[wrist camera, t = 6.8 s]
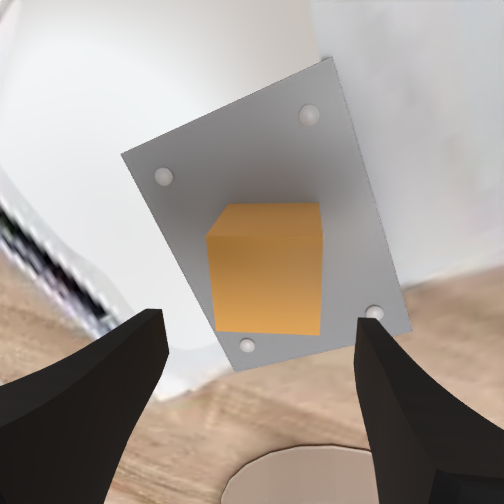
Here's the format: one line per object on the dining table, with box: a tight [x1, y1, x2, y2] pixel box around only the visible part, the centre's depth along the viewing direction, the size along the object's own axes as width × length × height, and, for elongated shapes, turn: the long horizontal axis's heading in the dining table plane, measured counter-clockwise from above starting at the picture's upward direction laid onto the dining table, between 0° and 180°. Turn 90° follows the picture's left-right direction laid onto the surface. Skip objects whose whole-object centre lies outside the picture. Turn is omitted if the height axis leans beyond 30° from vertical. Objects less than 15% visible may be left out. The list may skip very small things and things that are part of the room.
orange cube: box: [206, 203, 323, 336], centre depth 18 cm, size 5×5×5 cm
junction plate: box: [121, 57, 413, 372], centre depth 19 cm, size 16×12×4 cm
